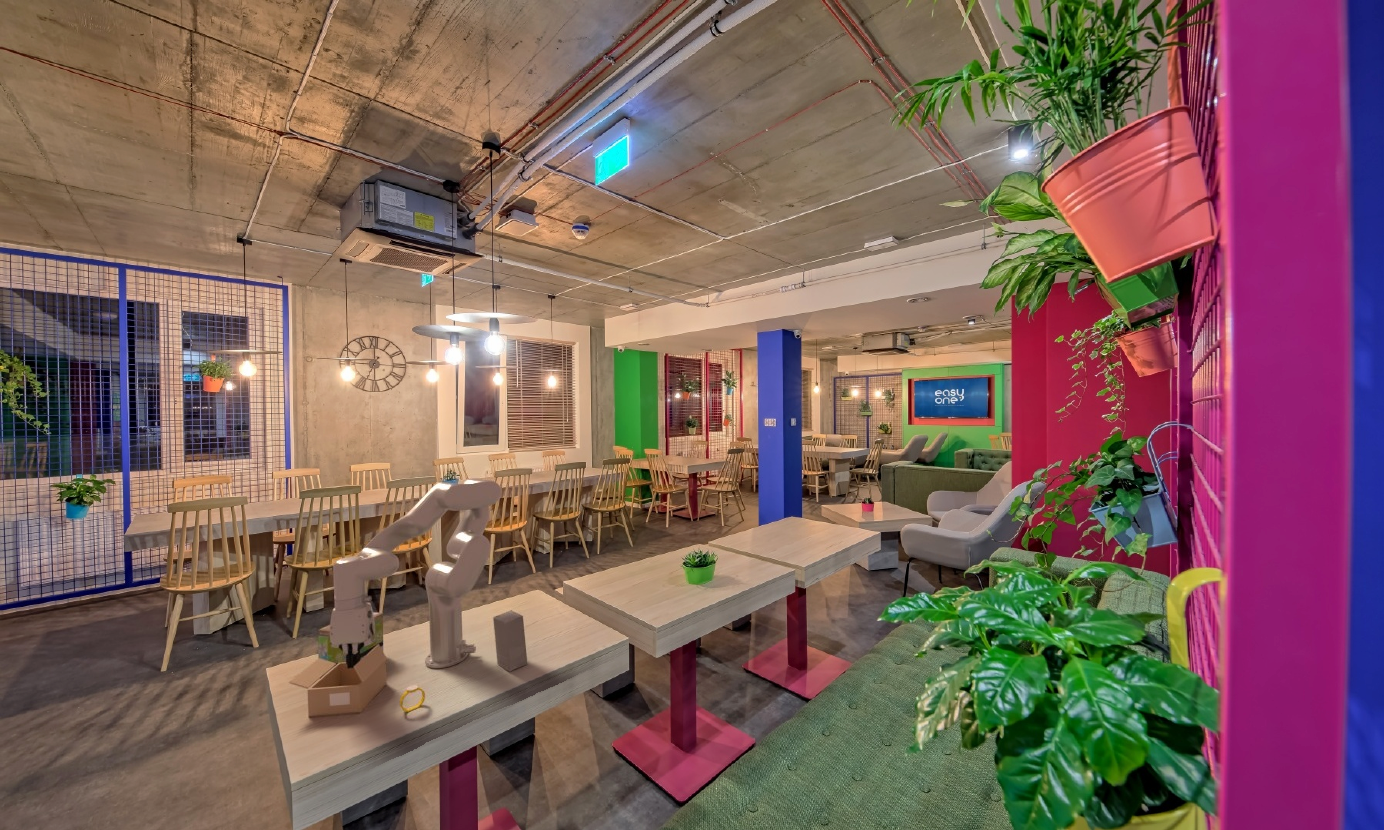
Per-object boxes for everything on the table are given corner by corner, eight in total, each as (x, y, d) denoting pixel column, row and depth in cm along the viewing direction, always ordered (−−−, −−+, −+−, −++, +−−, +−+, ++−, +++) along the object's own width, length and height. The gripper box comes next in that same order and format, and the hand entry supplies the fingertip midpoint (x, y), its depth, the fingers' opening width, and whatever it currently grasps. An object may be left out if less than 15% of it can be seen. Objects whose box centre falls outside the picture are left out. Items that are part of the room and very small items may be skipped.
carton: (386, 683, 147) (385, 659, 147) (359, 713, 133) (358, 685, 133) (340, 687, 146) (339, 662, 146) (308, 717, 132) (307, 689, 132)
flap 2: (385, 659, 146) (386, 658, 146) (362, 682, 134) (363, 681, 134) (377, 644, 146) (378, 644, 146) (353, 666, 134) (354, 665, 134)
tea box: (345, 680, 150) (343, 632, 150) (317, 677, 152) (316, 629, 152) (385, 655, 165) (383, 611, 165) (359, 652, 167) (358, 609, 167)
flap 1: (319, 658, 144) (318, 659, 144) (289, 681, 132) (288, 682, 132) (336, 663, 145) (335, 664, 145) (308, 687, 133) (307, 688, 133)
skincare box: (527, 664, 157) (526, 615, 156) (506, 673, 151) (504, 622, 151) (515, 655, 162) (513, 608, 162) (493, 664, 157) (492, 615, 157)
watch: (422, 703, 138) (423, 681, 138) (425, 707, 136) (426, 685, 136) (398, 711, 133) (399, 689, 134) (401, 715, 132) (402, 693, 132)
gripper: (385, 594, 144) (388, 656, 144) (331, 598, 142) (333, 660, 143) (371, 605, 136) (374, 670, 137) (313, 608, 135) (316, 675, 135)
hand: (353, 665), depth 140 cm, fingers closed
